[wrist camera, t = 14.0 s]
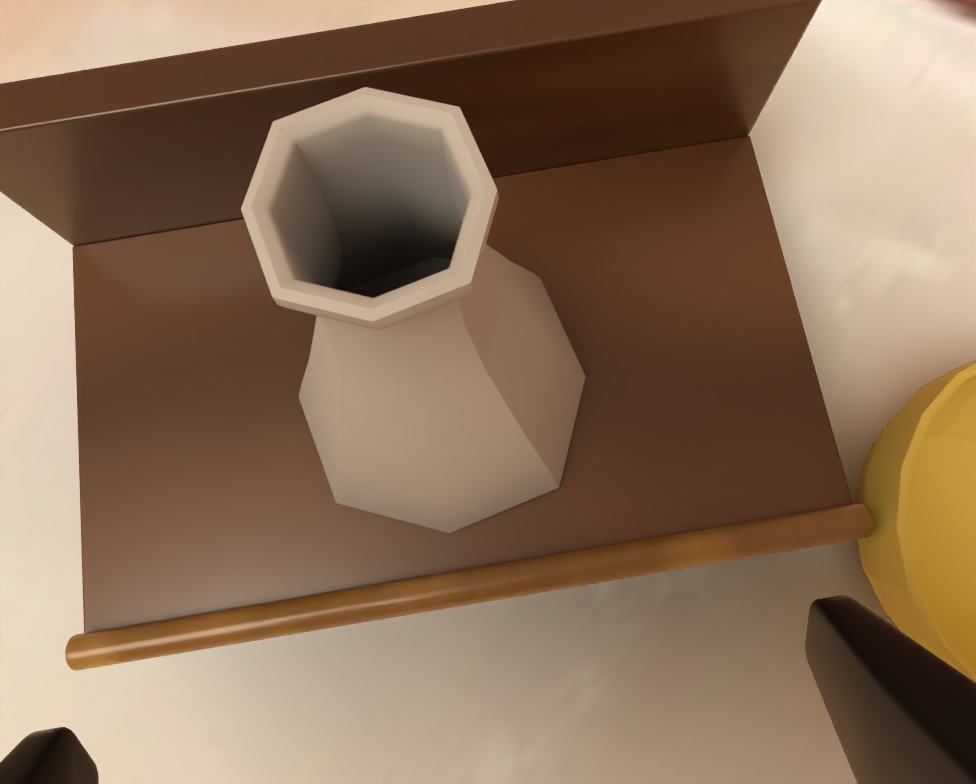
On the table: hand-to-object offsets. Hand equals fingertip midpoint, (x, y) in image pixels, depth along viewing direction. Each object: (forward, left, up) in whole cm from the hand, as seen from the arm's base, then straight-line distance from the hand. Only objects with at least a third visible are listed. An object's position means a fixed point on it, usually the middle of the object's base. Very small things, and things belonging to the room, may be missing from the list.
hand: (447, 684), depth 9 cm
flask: (+6, -1, -9) cm, 11 cm away
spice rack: (+6, -1, -13) cm, 14 cm away
